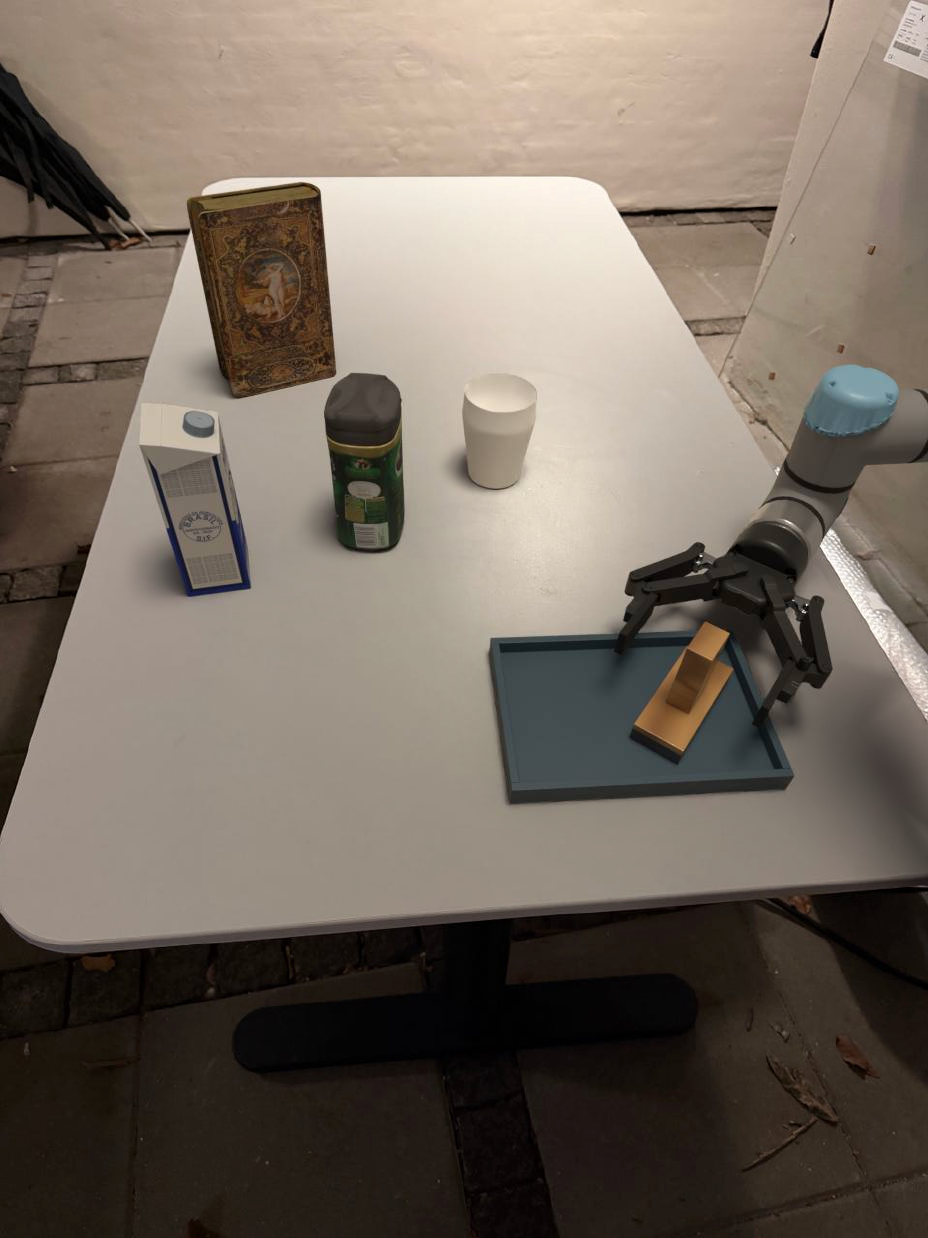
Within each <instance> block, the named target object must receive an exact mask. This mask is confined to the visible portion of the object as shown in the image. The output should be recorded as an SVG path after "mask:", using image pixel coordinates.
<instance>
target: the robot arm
mask: <svg viewBox="0 0 928 1238" xmlns="http://www.w3.org/2000/svg"><path fill="white" fill-rule="evenodd" d="M915 463H916V464H917V463H921V464H923V463H928V388H899V385H898V384H897V382H896V380H894V379H893V377H892V376H889V375H888V374H887V373H885V372H884V371H881V370H879V369H876V368H873V367H863V366H861V365H859V364H842V365H838V366H835V367H832V368H830V369H829V370H827V371H826V372H825V373H824V374H822V376H821V377H820V379H819V380H818V383H817V384H816V386H815V387H814V389H813V391H812V393H811V395H810V397H809V399H808V401H807V403H806V404H805V406H804V409H803V413H802V417H801V420H800V423H799V424H798V428H797V430H796V433H795V436H794V438H793V441H792V444H791V446H790V449H789V451H788V452H787V453H786V456H785V459H784V460H783V462H782V464H781V467H780V469H779V472H778V473H777V476H776V479H775V481H774V482H773V483H774V484H773V485H772V487H771V489H770V491H769V493H768V494H767V496H766V498H765V499H764V501H763V502H762V503H761V505H760V506H759V507H758V509H757V511H756V512H755V513H754V514H753V516H751V518H750V520H748V522H747V523H746V525H745V526H744V527H743V529H742V531H741V533H739V535H738V536H737V538H736V539H735V540H734V542H732V544H731V546H730V547H729V549H728V550H727V551H726V553H725V554H724V555H722V556H719V557H715V556H713V555H711V554H710V553H707V552H705V549H706V545H705V544H704V543H703V542H700V541H696V542H693V544H692V545H691V546H689V547H688V549H686V550H685V551H682V552H679V553H677V554H674V555H671V556H669V557H666V558H663V559H660V560H658V561H656V562H653V563H650V564H647V565H645V566H642V567H639V568H637V569H634V570H631V571H630V572H629V573H628V576H627V580H626V583H625V586H624V587H625V588H624V590H623V591H624V594H625V595H626V596H627V597H633V598H632V599H631V601H630V602H629V603H628V604H627V606H626V607H625V610H624V614H623V619H622V622H624V623H625V625H624V626H623V627H622V628H621V630H620V631H619V632H618V633H619V636H618V639H617V643H616V646H615V650H614V652H616V653H618V654H620V655H622V653H623V652H624V651H625V649H626V648H627V647H628V646H629V644H630V643H631V642H632V640H633V639H634V638H635V636H636V635H637V634H638V633H640V631H641V630H642V628H643V627H644V626H645V625H646V623H647V622H648V621H649V619H650V618H651V617H652V616H653V613H654V610H655V608H656V607H662V606H667V605H673V604H674V605H675V604H679V603H686V602H692V601H698V600H702V601H703V602H712V601H719V600H720V601H721V602H720V603H721V604H723V605H724V606H727V607H729V608H734V609H736V610H738V611H739V612H741V613H742V614H744V615H746V616H748V617H749V618H751V617H752V616H754V617H756V619H757V621H758V624H759V626H760V628H761V629H762V630H763V631H765V632H766V635H767V636H768V638H769V641H770V643H771V644H772V648H773V649H774V652H775V654H776V656H777V658H778V660H779V663H780V664H781V667H782V668H781V670H780V672H779V674H778V676H777V677H776V679H775V681H774V682H773V685H772V686H771V688H770V690H769V692H768V694H766V697H765V699H764V700H763V704H762V706H761V708H760V710H759V712H758V713H757V715H756V717H755V719H754V721H753V722H752V725H754V726H756V727H758V728H760V727H761V725H762V724H763V722H764V720H765V718H766V717H767V715H768V714H769V713H770V711H771V709H772V708H773V706H774V704H775V702H776V701H778V702H780V703H782V704H785V705H788V704H789V703H791V702H792V701H793V698H794V697H795V695H796V693H797V691H798V690H799V688H800V685H801V684H809V686H810V687H812V688H813V689H816V690H820V689H822V688H823V686H824V685H825V683H826V682H827V680H828V679H829V677H830V675H831V673H832V671H834V670H833V669H834V668H833V663H832V658H831V653H830V649H829V643H828V640H827V634H826V629H825V625H824V622H823V621H824V620H823V616H822V611H823V608H824V606H825V605H824V604H825V599H824V597H822V596H820V595H812V596H811V599H808V598H806V597H804V596H800V595H797V594H796V590H795V588H796V587H797V585H798V584H799V582H800V581H801V578H802V577H803V575H804V574H805V571H806V570H807V568H808V566H809V565H810V563H811V562H812V560H813V559H814V557H815V556H816V554H817V552H818V550H819V549H820V547H821V546H822V543H823V541H824V539H825V537H826V536H827V534H828V533H829V531H830V530H831V528H832V526H833V525H834V523H835V522H836V521H837V519H838V518H839V517H840V515H841V514H842V512H843V511H844V509H845V507H846V505H847V503H848V501H849V498H850V497H849V496H850V494H851V491H852V489H853V488H854V486H855V484H856V483H857V480H858V479H859V477H860V475H861V474H862V472H863V470H864V468H865V467H866V466H878V465H879V466H882V465H898V464H899V465H904V464H915ZM704 569H706V570H705V571H704V572H703V573H699V571H702V570H704ZM691 573H694V574H692V575H690V574H691ZM788 608H791V609H792V610H793V611H794V615H795V616H796V617H795V621H796V622H798V623H799V624H798V625H799V626H798V627H799V630H798V631H799V635H800V636H798V633H797V632H796V630H795V628H794V626H793V624H792V622H791V620H790V618H789V616H788V614H787V610H788ZM799 637H800V638H799Z"/></svg>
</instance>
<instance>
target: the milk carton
mask: <svg viewBox="0 0 928 1238" xmlns="http://www.w3.org/2000/svg"><path fill="white" fill-rule="evenodd" d="M221 425H222V424H221V421H220V416H219V412H218V411H212V410H208V409H207V410H206V409H201V408H194V407H187V406H180V405H174V404H167V403H151V402H141V403H140V421H139V433H138V446H139V448H140V452H141V454H142V459H143V461H144V465H145V467H146V470H147V474H148V476H149V480H150V483H151V487H152V489H153V492H154V496H155V499H156V502H157V505H158V508H159V511H160V514H161V518H162V521H163V523H164V524H163V525H164V526H165V530H166V534H167V537H168V539H169V540H168V541H169V542H170V545H171V550H172V552H173V555H174V558H175V561H176V564H177V567H178V571H179V574H180V576H181V580H182V582H183V587H184V589H185V592H186V595H187V597H188V598H190V597H197V596H204V595H205V596H206V595H211V594H212V595H213V594H218V593H219V594H220V593H226V592H234V591H242V590H248V589H249V590H250V589H252V583H251V571H250V570H251V569H250V558H249V547H248V542H247V537H246V533H245V529H244V523H243V520H242V516H241V515H242V514H241V511H240V506H239V502H238V498H237V493H236V489H235V483H234V479H233V475H232V471H231V466H230V461H229V458H228V451H227V448H226V443H225V438H224V434H223V430H222V426H221Z"/></svg>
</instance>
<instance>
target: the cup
mask: <svg viewBox="0 0 928 1238" xmlns="http://www.w3.org/2000/svg"><path fill="white" fill-rule="evenodd" d="M537 401H538V391H537V389H536V387H535V386H534V385H533V384H532V383H531V382H530V381H528V380H527V379H525V378H523V377H521V376H518V375H515V374H510V373H505V372H504V373H503V372H492V373H491V372H490V373H485V374H481V375H477V376H475V377H473V378H472V379H470V380H469V381H468V382H466V385H465V387H464V393H463V404H462V408H461V409H462V410H461V415H462V416H461V417H462V425H463V434H464V443H465V452H466V461H467V470H468V477H470V479H471V480H472V481H473V482H474V483H475V484H476V485H479V486H481V487H484V488H487V489H494V490H495V489H497V490H498V489H505V488H508V487H510V486H512V485H514V484H515V483H517V481H518V480H519V479H520V478H519V477H520V475H521V472H522V468H523V464H524V461H525V458H526V455H527V451H528V448H529V444H530V440H531V437H532V434H533V430H534V427H535V423H536V419H537Z"/></svg>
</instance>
